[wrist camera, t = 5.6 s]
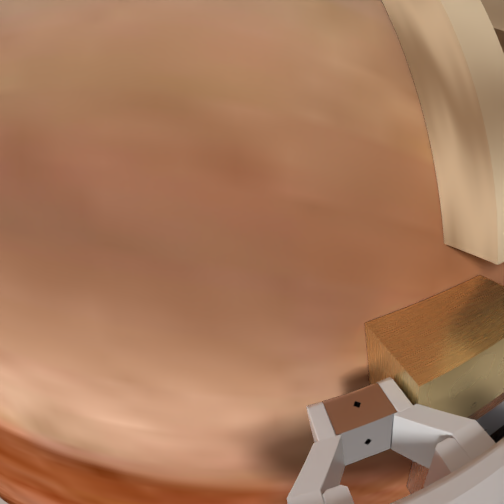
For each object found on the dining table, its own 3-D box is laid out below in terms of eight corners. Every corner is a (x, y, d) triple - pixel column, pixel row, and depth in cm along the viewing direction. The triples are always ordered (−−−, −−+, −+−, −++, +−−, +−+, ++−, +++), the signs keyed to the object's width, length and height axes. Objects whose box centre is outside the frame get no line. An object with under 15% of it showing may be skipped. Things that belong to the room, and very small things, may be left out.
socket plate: (422, 396, 12) (453, 434, 9) (539, 321, 12) (570, 340, 9) (406, 486, 14) (421, 515, 11) (508, 423, 14) (527, 443, 12)
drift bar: (364, 322, 10) (419, 386, 7) (479, 274, 11) (544, 307, 7) (369, 382, 11) (411, 447, 7) (475, 331, 11) (529, 372, 7)
